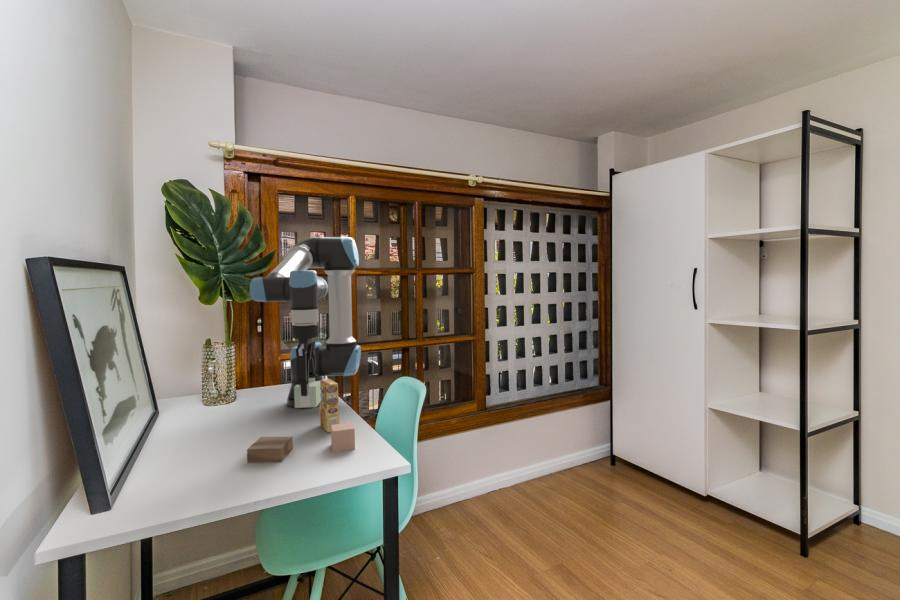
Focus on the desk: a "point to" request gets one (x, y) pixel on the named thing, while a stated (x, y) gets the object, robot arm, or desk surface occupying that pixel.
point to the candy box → (328, 404)
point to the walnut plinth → (269, 449)
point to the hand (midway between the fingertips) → (308, 402)
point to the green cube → (314, 394)
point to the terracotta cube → (342, 437)
